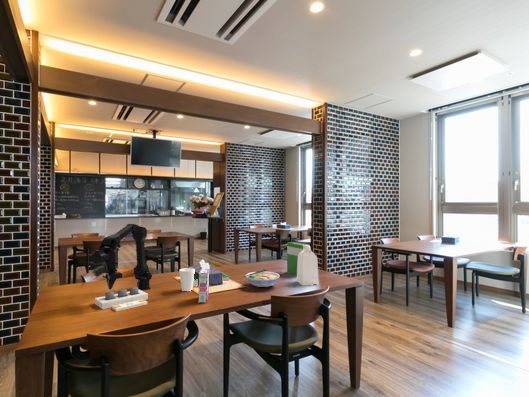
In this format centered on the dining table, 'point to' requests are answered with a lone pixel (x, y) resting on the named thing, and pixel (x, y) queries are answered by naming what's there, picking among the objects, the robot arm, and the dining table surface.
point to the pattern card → (129, 305)
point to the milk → (307, 267)
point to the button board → (120, 299)
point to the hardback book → (293, 255)
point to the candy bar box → (203, 286)
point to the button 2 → (133, 290)
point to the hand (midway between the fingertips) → (110, 289)
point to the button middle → (122, 293)
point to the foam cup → (187, 278)
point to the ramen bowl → (262, 278)
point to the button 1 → (109, 295)
